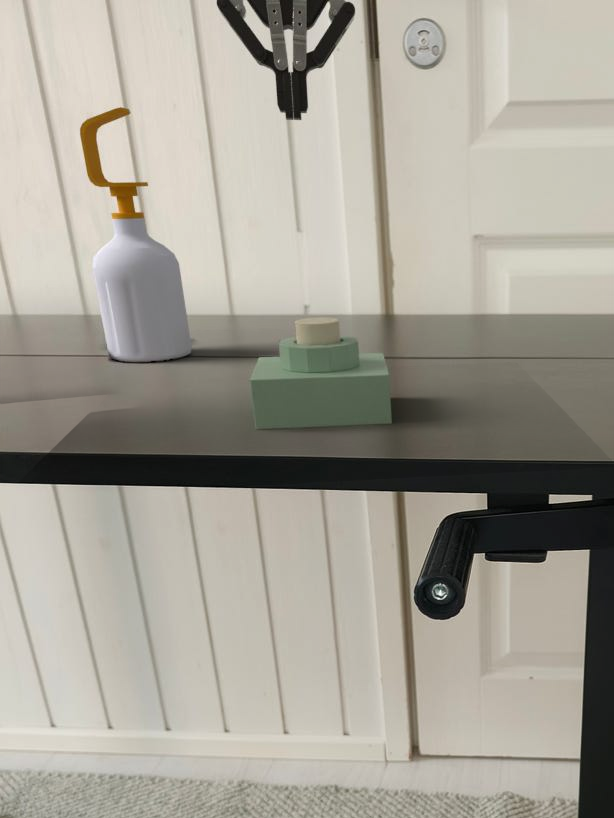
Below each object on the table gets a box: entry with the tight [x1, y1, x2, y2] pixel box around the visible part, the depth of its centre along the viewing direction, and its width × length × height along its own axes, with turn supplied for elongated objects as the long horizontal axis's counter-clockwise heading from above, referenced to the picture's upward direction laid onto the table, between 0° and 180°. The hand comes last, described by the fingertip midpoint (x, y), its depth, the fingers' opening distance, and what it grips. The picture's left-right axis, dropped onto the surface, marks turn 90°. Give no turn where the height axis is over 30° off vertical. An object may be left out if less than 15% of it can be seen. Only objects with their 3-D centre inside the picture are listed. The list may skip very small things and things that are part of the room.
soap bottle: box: [79, 107, 193, 363], centre depth 99 cm, size 9×9×25 cm
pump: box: [294, 317, 341, 345], centre depth 76 cm, size 4×4×2 cm
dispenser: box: [249, 334, 393, 431], centre depth 78 cm, size 11×10×6 cm
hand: (294, 118), depth 87 cm, fingers closed
